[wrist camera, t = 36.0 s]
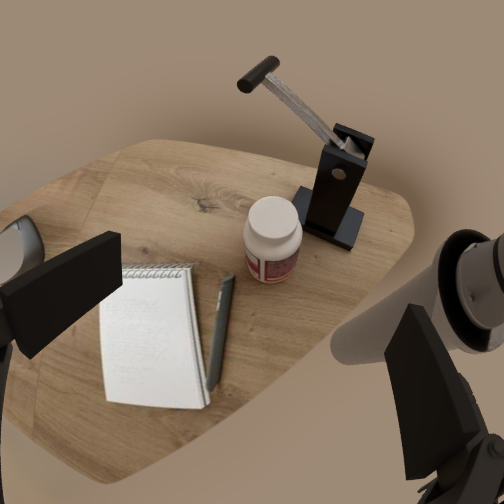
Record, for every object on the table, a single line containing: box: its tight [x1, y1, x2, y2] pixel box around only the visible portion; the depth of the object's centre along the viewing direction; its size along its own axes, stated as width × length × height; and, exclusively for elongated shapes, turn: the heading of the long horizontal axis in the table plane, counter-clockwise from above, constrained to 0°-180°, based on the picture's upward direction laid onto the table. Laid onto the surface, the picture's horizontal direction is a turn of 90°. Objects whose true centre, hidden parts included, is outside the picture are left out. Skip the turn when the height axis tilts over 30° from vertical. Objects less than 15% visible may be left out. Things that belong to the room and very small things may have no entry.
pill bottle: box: [243, 196, 302, 283], centre depth 30 cm, size 6×6×11 cm
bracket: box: [292, 123, 375, 251], centre depth 31 cm, size 10×6×15 cm, turn 63°
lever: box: [237, 56, 365, 160], centre depth 24 cm, size 14×6×2 cm
